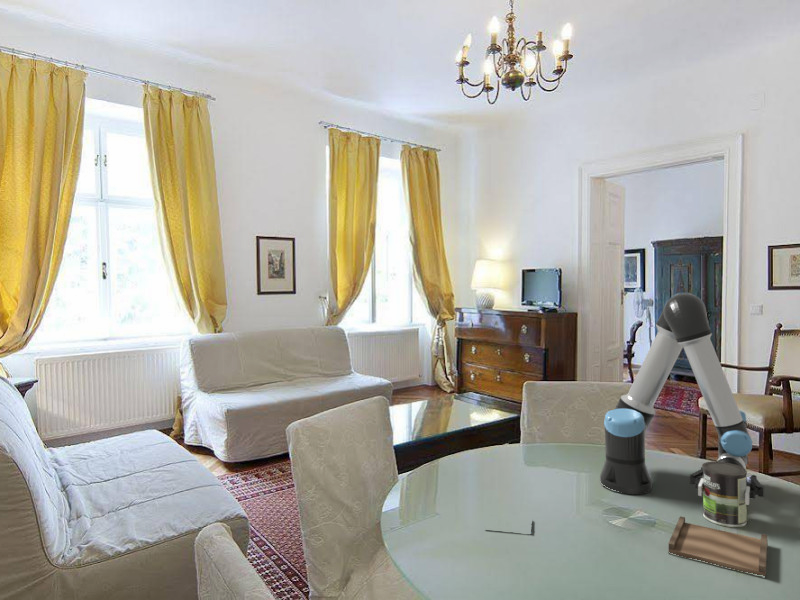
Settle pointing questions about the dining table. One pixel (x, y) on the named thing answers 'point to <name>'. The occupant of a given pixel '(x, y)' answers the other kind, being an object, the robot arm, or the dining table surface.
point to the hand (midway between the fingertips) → (722, 495)
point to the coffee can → (724, 494)
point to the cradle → (720, 547)
